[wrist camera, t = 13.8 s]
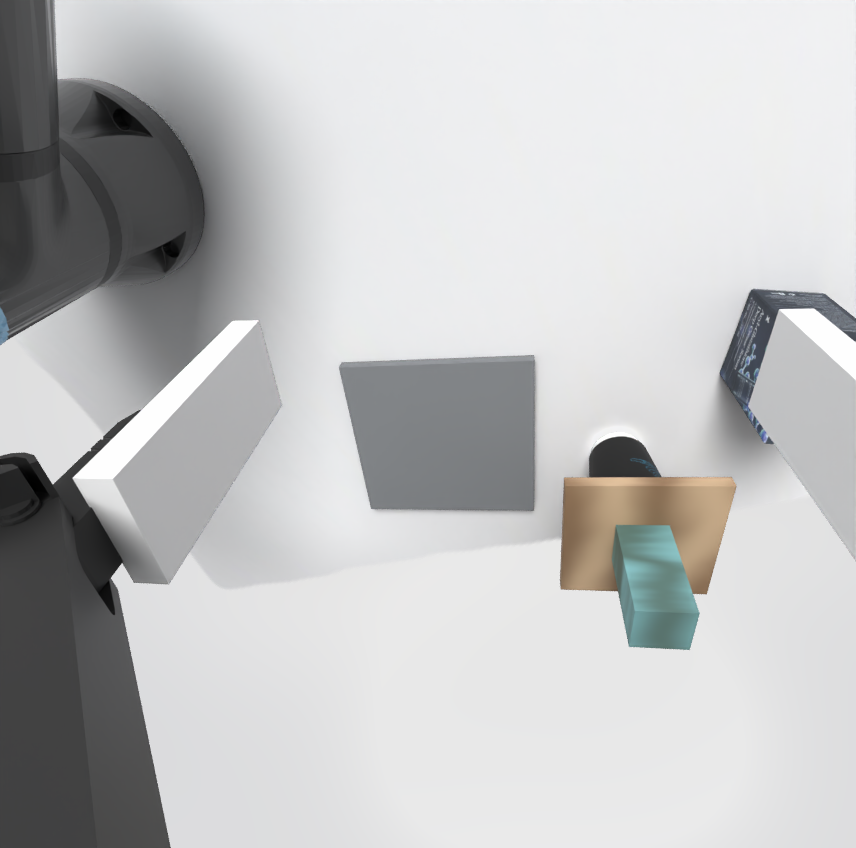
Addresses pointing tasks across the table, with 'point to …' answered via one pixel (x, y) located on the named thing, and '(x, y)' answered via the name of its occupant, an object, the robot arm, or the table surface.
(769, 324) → the box
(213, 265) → the table surface
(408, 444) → the mat
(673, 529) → the lid
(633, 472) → the dixie cup
